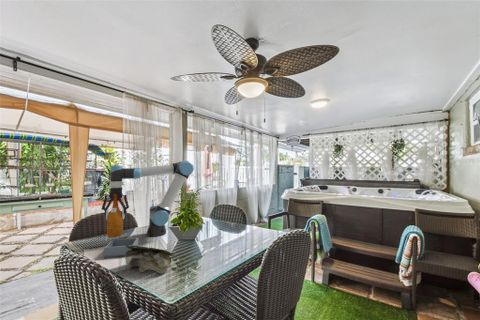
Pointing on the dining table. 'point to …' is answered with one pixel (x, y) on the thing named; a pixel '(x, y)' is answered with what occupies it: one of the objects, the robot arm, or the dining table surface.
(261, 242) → the dining table surface
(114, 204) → the wine bottle
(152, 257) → the hollow geode rock
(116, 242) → the crate
